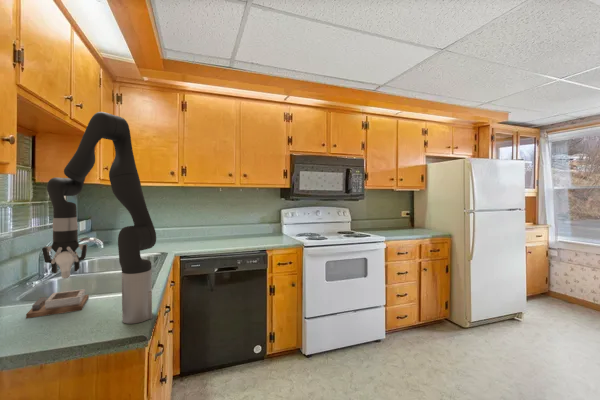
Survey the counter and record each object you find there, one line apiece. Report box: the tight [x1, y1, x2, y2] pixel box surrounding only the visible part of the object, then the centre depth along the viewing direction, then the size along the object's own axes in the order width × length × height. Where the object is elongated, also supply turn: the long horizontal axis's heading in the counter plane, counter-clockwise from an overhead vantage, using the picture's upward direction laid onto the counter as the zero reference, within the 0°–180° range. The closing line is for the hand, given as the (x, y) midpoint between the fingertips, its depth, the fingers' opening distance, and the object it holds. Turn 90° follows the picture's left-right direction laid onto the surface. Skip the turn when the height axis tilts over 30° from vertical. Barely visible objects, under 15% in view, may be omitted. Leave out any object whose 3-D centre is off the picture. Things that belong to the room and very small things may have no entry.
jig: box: [25, 288, 90, 319], centre depth 113 cm, size 16×14×4 cm
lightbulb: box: [55, 251, 75, 279], centre depth 113 cm, size 6×6×11 cm
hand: (66, 271), depth 113 cm, fingers closed on lightbulb, 5 cm apart
